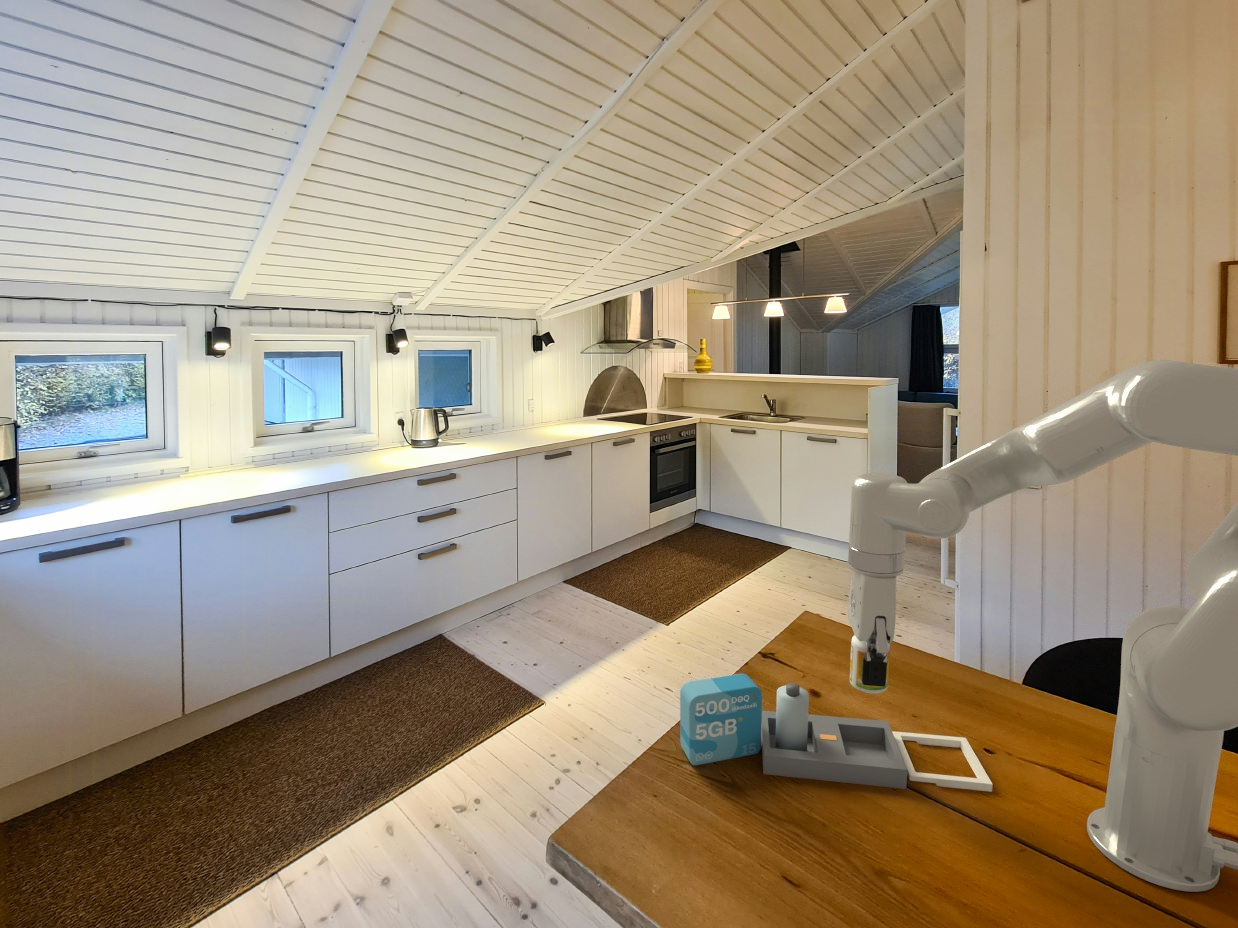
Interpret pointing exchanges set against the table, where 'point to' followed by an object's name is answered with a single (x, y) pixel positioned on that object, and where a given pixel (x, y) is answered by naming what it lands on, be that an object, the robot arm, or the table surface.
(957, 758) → the table surface
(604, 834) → the table surface
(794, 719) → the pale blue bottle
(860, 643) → the supplement bottle
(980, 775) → the tray frame
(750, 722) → the data package
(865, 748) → the grey compartment tray
